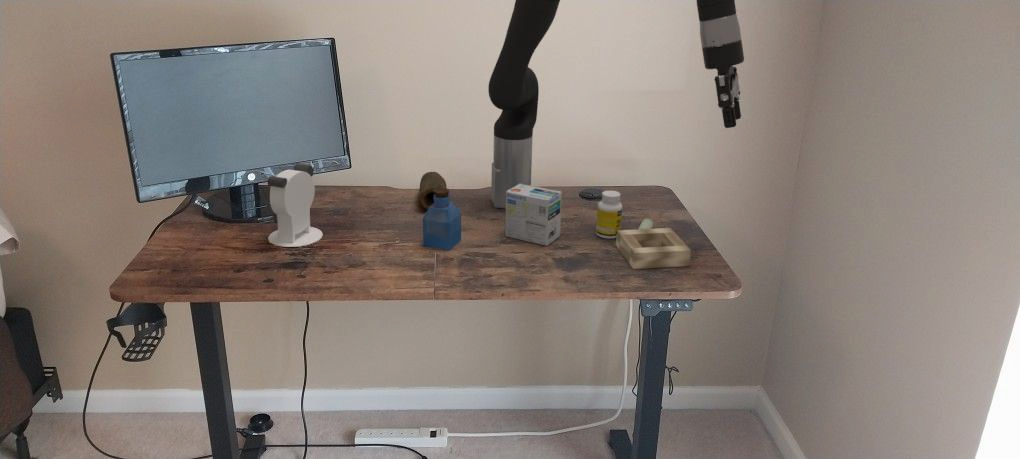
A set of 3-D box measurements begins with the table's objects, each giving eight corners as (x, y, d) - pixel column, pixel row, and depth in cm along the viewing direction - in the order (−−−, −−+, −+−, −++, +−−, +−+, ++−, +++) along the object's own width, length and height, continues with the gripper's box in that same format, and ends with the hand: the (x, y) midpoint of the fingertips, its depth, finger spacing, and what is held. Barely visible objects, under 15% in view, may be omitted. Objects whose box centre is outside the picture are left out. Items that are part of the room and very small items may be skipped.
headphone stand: (290, 223, 176) (284, 159, 170) (334, 230, 173) (329, 166, 167) (257, 243, 166) (250, 176, 160) (303, 251, 162) (297, 183, 156)
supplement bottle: (619, 240, 171) (622, 198, 167) (594, 238, 172) (597, 196, 168) (620, 231, 176) (624, 190, 172) (596, 228, 177) (599, 188, 173)
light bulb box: (560, 236, 173) (563, 190, 168) (547, 247, 167) (549, 199, 163) (518, 226, 177) (519, 182, 173) (503, 236, 172) (504, 190, 168)
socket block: (633, 269, 158) (634, 253, 156) (615, 245, 169) (617, 230, 167) (689, 265, 160) (691, 250, 158) (668, 242, 171) (670, 227, 169)
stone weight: (450, 213, 184) (450, 186, 182) (420, 214, 183) (419, 187, 181) (445, 191, 198) (444, 166, 195) (417, 192, 197) (416, 167, 194)
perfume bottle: (461, 239, 170) (461, 187, 165) (449, 250, 164) (449, 197, 160) (435, 235, 172) (434, 183, 167) (423, 246, 166) (422, 193, 162)
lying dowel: (645, 243, 171) (647, 232, 170) (634, 240, 172) (635, 230, 171) (652, 230, 178) (653, 219, 177) (641, 228, 178) (642, 217, 177)
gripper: (707, 42, 160) (718, 120, 163) (696, 48, 147) (709, 133, 151) (744, 34, 156) (756, 114, 160) (736, 41, 144) (749, 127, 148)
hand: (733, 123), depth 155 cm, fingers open, 8 cm apart
